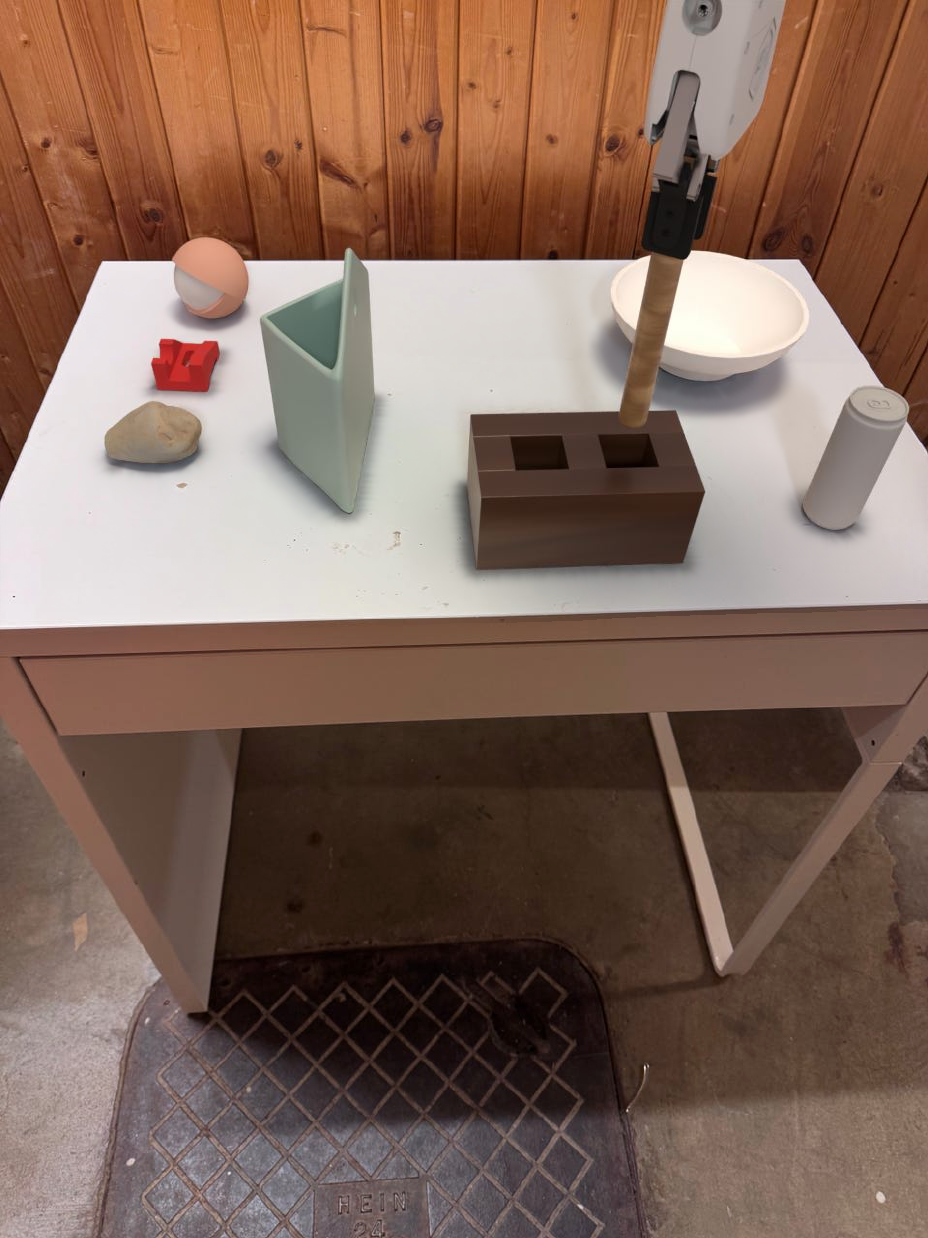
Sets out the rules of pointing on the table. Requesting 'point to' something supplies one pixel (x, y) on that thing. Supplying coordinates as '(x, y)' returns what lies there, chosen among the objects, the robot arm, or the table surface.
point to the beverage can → (855, 456)
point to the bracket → (184, 365)
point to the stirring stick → (650, 336)
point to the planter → (324, 380)
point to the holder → (580, 490)
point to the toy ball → (210, 277)
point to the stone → (154, 434)
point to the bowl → (717, 315)
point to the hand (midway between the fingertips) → (672, 240)
